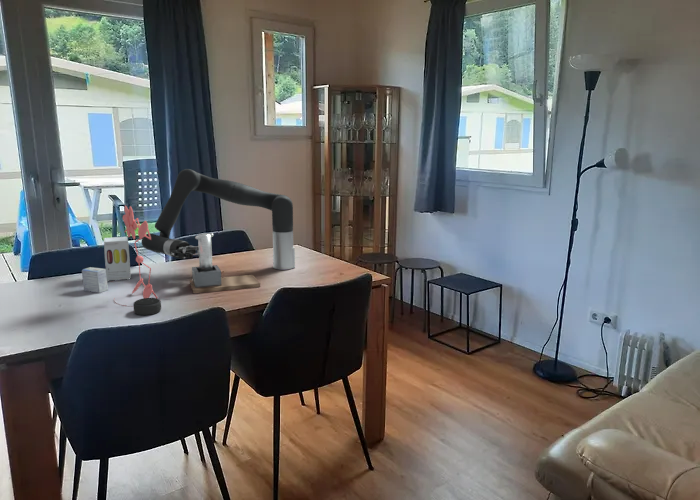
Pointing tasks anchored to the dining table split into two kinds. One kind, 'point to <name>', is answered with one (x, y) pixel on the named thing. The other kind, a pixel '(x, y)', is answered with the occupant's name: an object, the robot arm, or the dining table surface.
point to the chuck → (206, 277)
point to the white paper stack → (94, 279)
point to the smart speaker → (147, 306)
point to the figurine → (130, 229)
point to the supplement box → (117, 258)
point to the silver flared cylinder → (205, 251)
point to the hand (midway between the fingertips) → (201, 254)
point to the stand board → (229, 284)
